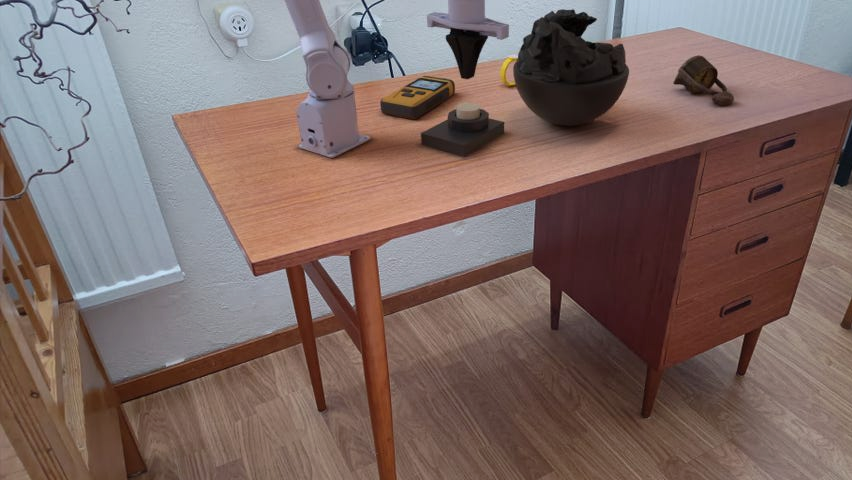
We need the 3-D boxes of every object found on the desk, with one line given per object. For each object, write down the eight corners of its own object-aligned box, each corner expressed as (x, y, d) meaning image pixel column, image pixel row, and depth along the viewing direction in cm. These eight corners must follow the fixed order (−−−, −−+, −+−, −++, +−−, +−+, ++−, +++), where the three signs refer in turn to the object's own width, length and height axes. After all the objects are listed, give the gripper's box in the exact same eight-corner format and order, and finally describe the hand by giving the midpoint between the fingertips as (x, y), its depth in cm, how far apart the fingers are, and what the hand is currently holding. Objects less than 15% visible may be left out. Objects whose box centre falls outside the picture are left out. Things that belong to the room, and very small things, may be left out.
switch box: (464, 157, 107) (464, 134, 105) (421, 145, 111) (420, 122, 109) (504, 133, 115) (504, 111, 113) (462, 123, 119) (462, 101, 117)
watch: (506, 89, 134) (506, 60, 131) (497, 86, 136) (498, 57, 133) (528, 83, 137) (529, 55, 134) (519, 80, 139) (520, 52, 136)
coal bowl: (578, 96, 131) (586, -4, 120) (646, 129, 116) (661, 18, 106) (491, 114, 123) (492, 9, 112) (552, 152, 108) (559, 35, 98)
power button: (471, 122, 110) (471, 112, 109) (451, 117, 112) (451, 108, 111) (484, 115, 113) (484, 105, 112) (465, 110, 115) (465, 101, 114)
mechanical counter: (723, 58, 134) (677, 48, 132) (750, 72, 122) (700, 61, 121) (710, 93, 137) (665, 84, 135) (735, 110, 126) (687, 100, 124)
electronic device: (378, 115, 123) (376, 98, 121) (420, 89, 135) (419, 73, 133) (416, 122, 120) (415, 104, 118) (457, 95, 132) (456, 78, 130)
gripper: (520, -10, 100) (517, 78, 108) (444, -20, 107) (446, 63, 115) (494, -2, 95) (494, 90, 103) (416, -13, 102) (421, 74, 110)
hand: (467, 77), depth 108 cm, fingers closed
